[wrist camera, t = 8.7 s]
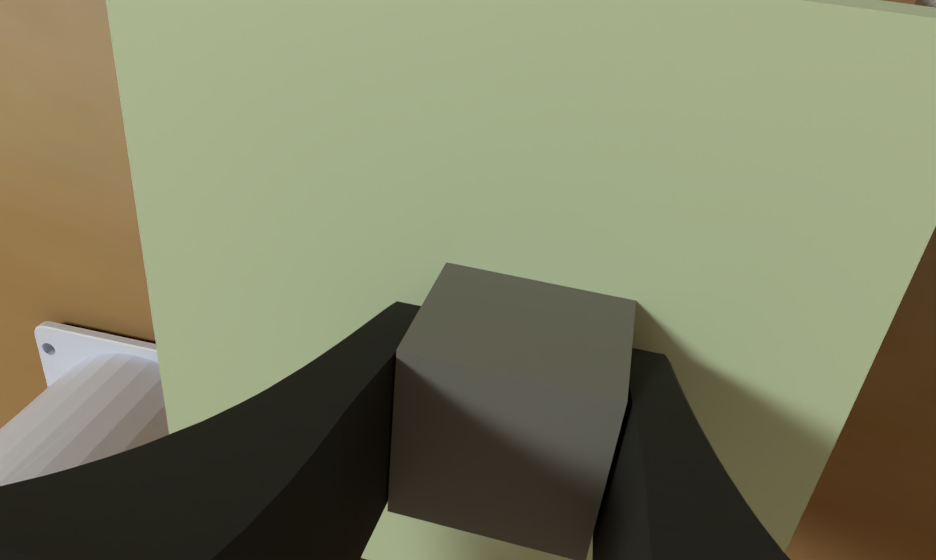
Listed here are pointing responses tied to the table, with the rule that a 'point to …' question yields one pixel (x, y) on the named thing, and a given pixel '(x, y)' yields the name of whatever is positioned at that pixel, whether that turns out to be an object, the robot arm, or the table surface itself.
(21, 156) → the table surface
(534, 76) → the toolbox lid
